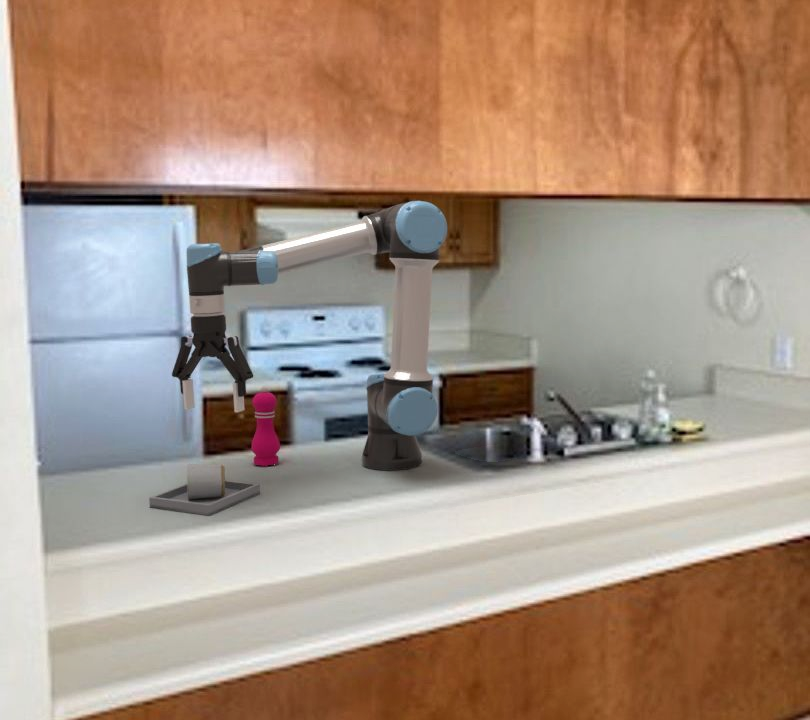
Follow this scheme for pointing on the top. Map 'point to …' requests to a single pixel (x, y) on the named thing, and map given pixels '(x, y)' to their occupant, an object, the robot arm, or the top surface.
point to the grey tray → (204, 499)
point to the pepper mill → (265, 429)
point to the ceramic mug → (205, 481)
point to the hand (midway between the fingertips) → (214, 410)
